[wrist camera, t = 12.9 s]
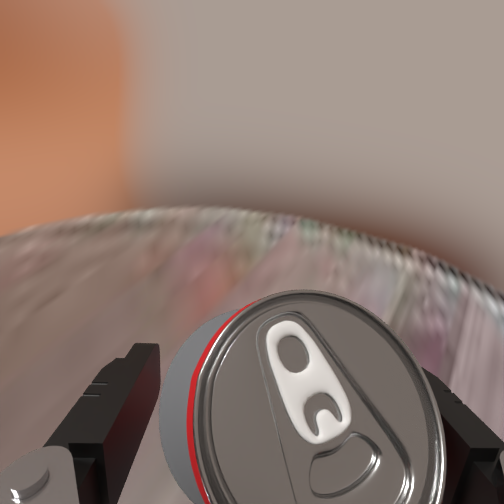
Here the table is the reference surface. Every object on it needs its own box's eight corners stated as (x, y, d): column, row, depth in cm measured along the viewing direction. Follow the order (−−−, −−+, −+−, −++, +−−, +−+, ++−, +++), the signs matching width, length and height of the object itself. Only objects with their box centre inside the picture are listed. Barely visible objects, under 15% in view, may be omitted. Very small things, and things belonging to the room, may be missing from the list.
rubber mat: (129, 380, 16) (125, 379, 15) (264, 283, 20) (266, 279, 19) (233, 587, 12) (234, 598, 11) (376, 415, 16) (383, 416, 15)
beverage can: (236, 477, 13) (246, 744, 3) (204, 376, 16) (149, 330, 5) (320, 429, 15) (529, 498, 4) (279, 342, 17) (352, 251, 7)
